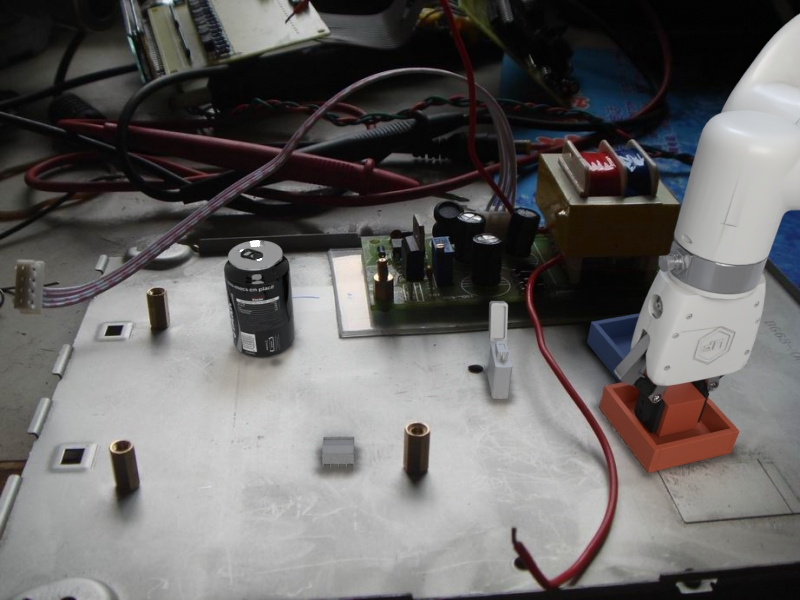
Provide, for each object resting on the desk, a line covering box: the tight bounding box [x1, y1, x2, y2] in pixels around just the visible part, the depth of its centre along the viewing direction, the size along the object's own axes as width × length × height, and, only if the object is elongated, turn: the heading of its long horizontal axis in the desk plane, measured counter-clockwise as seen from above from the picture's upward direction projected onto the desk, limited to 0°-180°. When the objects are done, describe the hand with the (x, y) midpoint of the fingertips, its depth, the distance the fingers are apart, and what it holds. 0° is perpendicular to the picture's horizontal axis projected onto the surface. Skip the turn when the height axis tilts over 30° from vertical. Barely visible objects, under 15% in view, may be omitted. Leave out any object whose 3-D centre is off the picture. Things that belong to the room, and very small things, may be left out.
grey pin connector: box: [321, 436, 356, 470], centre depth 70 cm, size 3×2×2 cm
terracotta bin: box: [598, 382, 740, 474], centre depth 74 cm, size 9×9×3 cm
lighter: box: [486, 300, 514, 400], centre depth 79 cm, size 7×2×8 cm, turn 2°
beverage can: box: [223, 240, 296, 359], centre depth 81 cm, size 7×7×12 cm
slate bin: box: [586, 312, 641, 383], centre depth 83 cm, size 9×9×3 cm
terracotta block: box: [650, 380, 705, 437], centre depth 73 cm, size 4×4×4 cm
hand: (666, 416), depth 74 cm, fingers closed on terracotta block, 4 cm apart
